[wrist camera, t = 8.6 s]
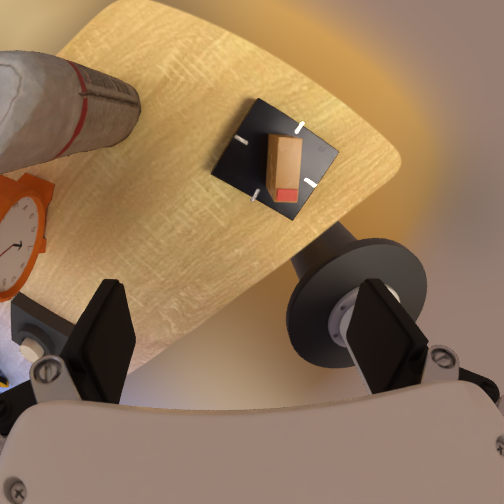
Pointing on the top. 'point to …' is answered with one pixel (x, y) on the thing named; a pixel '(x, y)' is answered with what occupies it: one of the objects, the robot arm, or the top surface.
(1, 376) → the walkie talkie
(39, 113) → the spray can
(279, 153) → the knob
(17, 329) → the dark grey button base
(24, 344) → the white push button
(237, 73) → the top surface
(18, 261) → the alarm clock
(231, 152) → the panel
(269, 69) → the top surface
